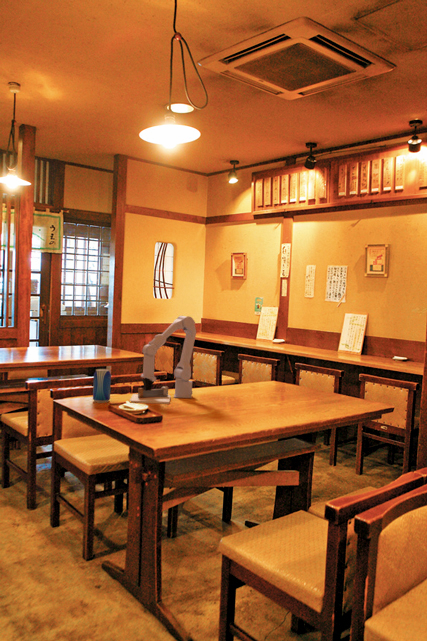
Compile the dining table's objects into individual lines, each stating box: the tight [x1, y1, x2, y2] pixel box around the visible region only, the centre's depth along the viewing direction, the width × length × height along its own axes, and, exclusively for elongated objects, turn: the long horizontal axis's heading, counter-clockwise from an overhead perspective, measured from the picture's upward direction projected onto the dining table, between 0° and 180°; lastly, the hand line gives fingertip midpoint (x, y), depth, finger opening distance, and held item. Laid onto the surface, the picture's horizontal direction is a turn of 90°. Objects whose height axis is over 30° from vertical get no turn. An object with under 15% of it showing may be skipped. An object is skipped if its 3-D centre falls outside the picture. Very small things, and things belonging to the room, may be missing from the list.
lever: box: [137, 385, 169, 398], centre depth 264 cm, size 17×4×5 cm, turn 123°
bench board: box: [129, 393, 171, 405], centre depth 263 cm, size 20×18×1 cm
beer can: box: [92, 368, 112, 404], centre depth 252 cm, size 8×8×16 cm
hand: (147, 392), depth 265 cm, fingers closed
